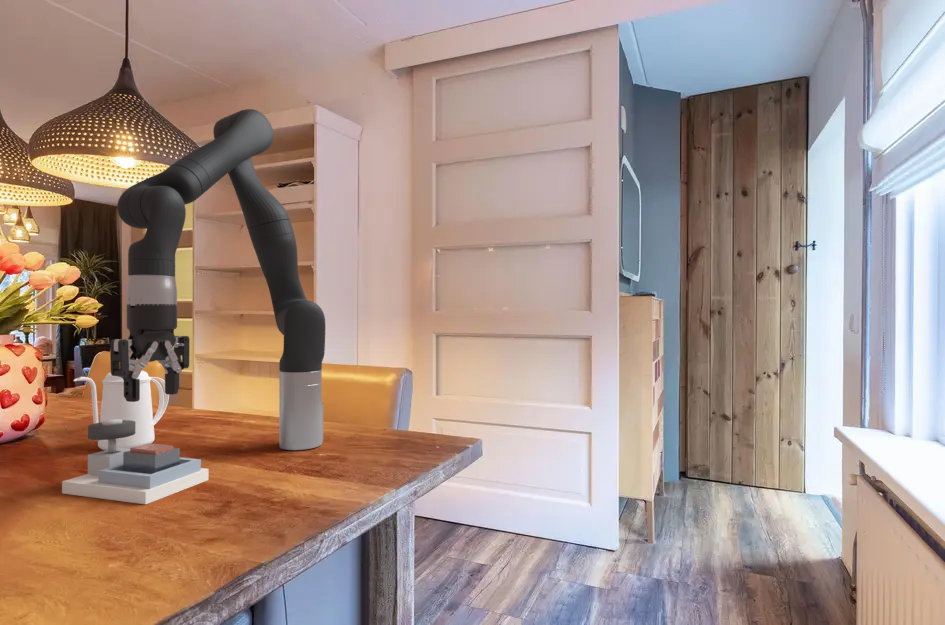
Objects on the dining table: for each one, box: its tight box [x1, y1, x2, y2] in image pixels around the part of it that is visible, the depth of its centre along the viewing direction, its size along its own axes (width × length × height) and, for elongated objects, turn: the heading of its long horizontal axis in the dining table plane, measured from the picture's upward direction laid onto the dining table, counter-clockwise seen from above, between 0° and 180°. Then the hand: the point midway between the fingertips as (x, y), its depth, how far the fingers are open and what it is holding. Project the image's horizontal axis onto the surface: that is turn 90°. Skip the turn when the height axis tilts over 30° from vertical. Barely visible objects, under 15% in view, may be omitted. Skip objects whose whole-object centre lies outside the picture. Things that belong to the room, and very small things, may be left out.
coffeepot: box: [73, 370, 170, 451], centre depth 121 cm, size 11×25×19 cm, turn 168°
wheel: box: [87, 419, 135, 454], centre depth 95 cm, size 7×7×6 cm
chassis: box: [61, 448, 210, 505], centre depth 93 cm, size 13×18×6 cm
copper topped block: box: [123, 443, 181, 474], centre depth 92 cm, size 5×7×5 cm
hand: (152, 397), depth 92 cm, fingers open, 7 cm apart
